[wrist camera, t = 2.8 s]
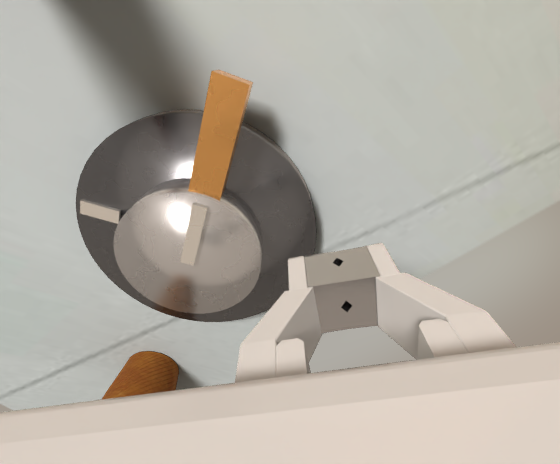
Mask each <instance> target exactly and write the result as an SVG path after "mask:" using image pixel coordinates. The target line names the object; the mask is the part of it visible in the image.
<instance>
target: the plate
mask: <svg viewBox="0 0 560 464" xmlns="http://www.w3.org/2000/svg"><path fill="white" fill-rule="evenodd" d="M203 113H204V111H201V110H173V111H166V112H160V113H157V114H154V115H151V116H147V117H144V118H142V119H140V120H137V121H135V122H133V123H131V124H129V125H127V126H125V127H123V128H120V129H119V130H117V131H116V132H114V133H113V134H112V135H110V136H109V137H107V138H106V139H105V140H104V141H103V142H102V143H101V144H100V145H99V146H98V147H97V148H96V149H95V150H94V152H93V153H92V155H91V156H90V158H89V159H88V160H87V162H86V164H85V166H84V169H83V171H82V173H81V175H80V179H79V183H78V187H77V195H76V212H77V220H78V224H79V228H80V232H81V234H82V237H83V240H84V242H85V245H86V247H87V248H88V250H89V252H90V254H91V256H92V257H93V259H94V260H95V262H96V263H97V264H98V266H99V267H100V269H101V270H102V271H103V272H104V273H105V274H106V275H107V276H108V278H109V279H110V280H111V281H113V282H114V283H115V284H116V285H117V286H118V287H119V288H120V289H122V290H123V291H124V292H126V293H127V294H128V295H130V296H131V297H133V298H134V299H136V300H138V301H139V302H141V303H142V304H145V305H147V306H149V307H151V308H153V309H155V310H157V311H160V312H162V313H165V314H168V315H171V316H175V317H178V318H183V319H188V320H193V321H203V322H223V321H233V320H238V319H243V318H247V317H250V316H253V315H256V314H259V313H261V312H263V311H266V310H268V309H269V308H271V307H272V306H273V305H274V303H275V302H276V301H277V300H278V299H279V297H280V296H281V295H282V294H283V293H284V291H289V276H288V259H289V258H293V257H299V256H306V255H313V254H314V250H315V245H316V221H315V214H314V209H313V205H312V201H311V196H310V193H309V191H308V188H307V185H306V183H305V181H304V179H303V177H302V175H301V173H300V172H299V170H298V168H297V167H296V165H295V164H294V163H293V161H292V160H291V159H290V158H289V156H288V155H287V154H286V153H285V152H284V151H283V150H282V149H281V148H280V147H279V146H278V145H277V144H276V143H275V142H274V141H272V140H271V139H270V138H268V137H267V136H266V135H265V134H263V133H262V132H260V131H258V130H257V129H255V128H253V127H252V126H250V125H248V124H246V123H244V122H242V126H241V130H240V134H239V137H238V141H237V145H236V149H235V153H234V157H233V160H232V164H231V168H230V172H229V176H228V179H227V183H226V188H228V189H230V190H231V191H233V192H234V193H236V194H237V195H238V196H239V197H241V198H242V199H243V200H244V201H245V202H246V203H247V204H248V205H249V207H250V208H251V209H252V211H253V212H254V213H255V215H256V217H257V219H258V221H259V223H260V226H261V229H262V234H263V250H262V259H261V268H260V274H259V278H258V280H257V282H256V285H255V286H254V288H253V289H252V291H251V292H250V293H249V294H248V295H247V296H246V297H245V298H244V299H243V300H242V301H240V302H239V303H237V304H236V305H234V306H232V307H230V308H227V309H225V310H221V311H218V312H213V313H204V314H194V313H185V312H179V311H175V310H172V309H168V308H166V307H163V306H161V305H159V304H157V303H155V302H153V301H151V300H149V299H148V298H146V297H145V296H143V295H142V294H141V293H139V292H138V291H137V290H136V289H135V288H134V287H133V286H132V285H131V284H130V283H129V282H128V281H127V279H126V278H125V277H124V275H123V274H122V272H121V270H120V268H119V266H118V264H117V261H116V258H115V253H114V234H115V231H116V228H117V225H118V223H119V221H120V220H121V218H122V217H123V216H124V214H125V213H126V212H127V211H128V210H129V209H130V208H131V207H132V206H133V205H134V204H135V203H136V202H137V201H138V200H139V199H140V198H141V197H142V196H143V195H144V194H145V193H147V192H148V191H149V190H150V189H152V188H153V187H155V186H156V185H158V184H161V183H163V182H165V181H169V180H173V179H179V178H191V174H192V169H193V164H194V159H195V154H196V149H197V143H198V138H199V133H200V128H201V123H202V118H203Z"/></svg>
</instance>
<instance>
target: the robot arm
mask: <svg viewBox="0 0 560 464" xmlns="http://www.w3.org/2000/svg"><path fill="white" fill-rule="evenodd" d="M288 276H289V291H284V293H283V294H282V295H281V296H280V297H279V299H278V300H277V301H276V302H275V303H274V305H273V306H272V307H271V308H270V310H269V311H268V312H267V313H266V314H265V316H264V317H263V318H262V319H261V320H260V322H259V323H258V324H257V325H256V326H255V328H254V329H253V330H252V331H251V332H250V334H249V335H248V336H247V337H246V338H245V340H244V341H243V342H242V343H241V345H240V351H239V358H238V365H237V372H236V379H235V383H229V384H221V385H213V386H205V387H197V388H190V389H182V390H174V391H166V392H158V393H150V394H142V395H134V396H126V397H118V398H110V399H102V400H94V401H87V402H79V403H71V404H63V405H55V406H47V407H39V408H31V409H23V410H15V411H8V412H0V464H560V342H554V343H546V344H539V345H531V346H523V347H516V346H515V345H514V343H513V342H512V341H511V340H510V339H509V337H508V336H507V335H506V334H505V333H504V332H503V330H502V329H501V328H500V327H499V325H498V324H497V323H496V322H495V321H494V319H493V318H492V317H491V316H490V315H489V313H488V312H487V311H485V310H483V309H481V308H479V307H477V306H475V305H473V304H470V303H468V302H466V301H464V300H462V299H460V298H458V297H456V296H454V295H452V294H450V293H447V292H445V291H443V290H441V289H439V288H437V287H435V286H433V285H430V284H428V283H426V282H424V281H422V280H420V279H418V278H416V277H414V276H412V275H409V274H407V273H400V271H399V270H398V268H397V266H396V265H395V263H394V261H393V259H392V258H391V256H390V254H389V253H388V251H387V249H386V247H385V246H384V244H382V243H378V244H373V245H368V246H364V247H358V248H353V249H347V250H342V251H336V252H335V251H334V252H327V253H320V254H313V255H306V256H299V257H293V258H289V259H288ZM368 326H378V327H379V328H380V329H381V330H383V331H384V332H385V333H386V334H388V336H389V337H391V338H392V339H393V340H394V341H395V342H396V343H398V344H399V345H400V346H401V347H403V348H404V349H405V350H406V351H407V352H408V353H409V354H411V355H412V356H413V357H414V358H415V359H416V360H411V361H402V362H395V363H387V364H379V365H371V366H363V367H355V368H348V369H340V370H332V371H324V372H317V373H311V371H310V367H309V361H310V359H311V357H312V355H313V353H314V351H315V348H316V346H317V344H318V342H319V340H320V338H321V336H322V333H326V332H332V331H338V330H344V329H351V328H359V327H368Z"/></svg>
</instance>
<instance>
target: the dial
mask: <svg viewBox="0 0 560 464" xmlns="http://www.w3.org/2000/svg"><path fill="white" fill-rule="evenodd" d="M252 84H253V82H251V81H248V80H245V79H243V78H240V77H237V76H235V75H232V74H229V73H226V72H224V71H221V70H214V71H212V72H211V77H210V82H209V87H208V92H207V98H206V103H205V108H204V113H203V118H202V123H201V128H200V133H199V138H198V143H197V149H196V154H195V159H194V164H193V169H192V174H191V178H179V179H173V180H169V181H165V182H163V183H161V184H158V185H156V186H155V187H153V188H152V189H150V190H149V191H148V192H147V193H145V194H144V195H143V196H142V197H141V198H140V199H139V200H138V201H137V202H136V203H135V204H134V205H133V206H132V207H131V208H130V209H129V210H128V211H127V212H126V213H125V214H124V216H123V217H122V218H121V220H120V221H119V223H118V225H117V228H116V231H115V234H114V253H115V258H116V261H117V264H118V266H119V268H120V270H121V272H122V274H123V275H124V277H125V278H126V279H127V281H128V282H129V283H130V284H131V285H132V286H133V287H134V288H135V289H136V290H137V291H138V292H139V293H141V294H142V295H143V296H145V297H146V298H148V299H149V300H151V301H153V302H155V303H157V304H159V305H161V306H163V307H166V308H168V309H172V310H175V311H179V312H185V313H194V314H204V313H213V312H218V311H221V310H225V309H227V308H230V307H232V306H234V305H236V304H237V303H239V302H240V301H242V300H243V299H244V298H245V297H246V296H247V295H248V294H249V293H250V292H251V291H252V289H253V288H254V286H255V285H256V282H257V280H258V278H259V274H260V268H261V259H262V250H263V234H262V229H261V226H260V223H259V221H258V219H257V217H256V215H255V213H254V212H253V211H252V209H251V208H250V207H249V205H248V204H247V203H246V202H245V201H244V200H243V199H242V198H241V197H239V196H238V195H237V194H236V193H234V192H233V191H231V190H230V189H228V188H226V183H227V179H228V176H229V172H230V168H231V164H232V160H233V157H234V153H235V149H236V145H237V141H238V137H239V134H240V130H241V126H242V122H243V118H244V115H245V111H246V107H247V103H248V99H249V95H250V92H251V88H252Z"/></svg>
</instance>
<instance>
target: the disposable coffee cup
mask: <svg viewBox="0 0 560 464" xmlns="http://www.w3.org/2000/svg"><path fill="white" fill-rule="evenodd" d="M178 374H179V368H178V366H177V364H176V363H175V362H174V361H173V360H172V359H171V358H169V357H168V356H166V355H164V354H161V353H157V352H151V351H145V352H139V353H136V354H134V355H132V356H131V357H130V358H129V360H128V361H127V363H126V364H125V366H124V367H123V369H122V370H121V372H120V373H119V375H118V376H117V377H116V379H115V380H114V382H113V383H112V385H111V386H110V387H109V389H108V391H107V392H106V394H105V395H104V396H103V398H102V399H110V398H118V397H126V396H134V395H142V394H150V393H158V392H166V391H174V390H176V384H177V379H178ZM102 399H101V400H102Z"/></svg>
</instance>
